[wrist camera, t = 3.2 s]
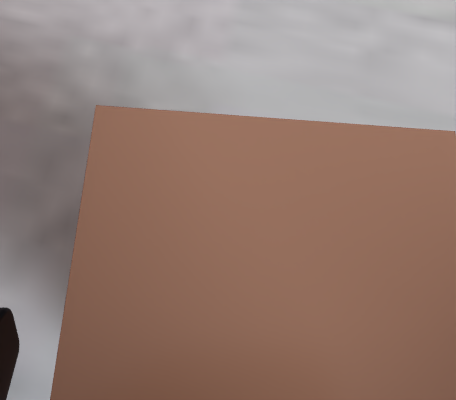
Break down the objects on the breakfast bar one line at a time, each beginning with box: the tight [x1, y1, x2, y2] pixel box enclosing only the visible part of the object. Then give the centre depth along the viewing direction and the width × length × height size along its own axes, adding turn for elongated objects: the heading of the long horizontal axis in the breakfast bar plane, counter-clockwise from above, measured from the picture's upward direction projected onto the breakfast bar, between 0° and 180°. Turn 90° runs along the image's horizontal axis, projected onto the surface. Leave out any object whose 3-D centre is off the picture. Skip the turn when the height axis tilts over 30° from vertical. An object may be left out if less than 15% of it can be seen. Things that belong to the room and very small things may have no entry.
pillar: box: [50, 105, 456, 400], centre depth 10 cm, size 4×4×12 cm
